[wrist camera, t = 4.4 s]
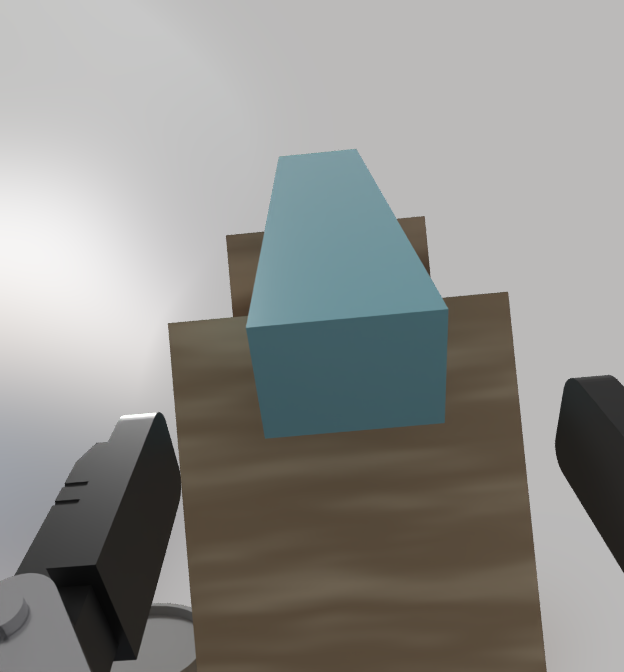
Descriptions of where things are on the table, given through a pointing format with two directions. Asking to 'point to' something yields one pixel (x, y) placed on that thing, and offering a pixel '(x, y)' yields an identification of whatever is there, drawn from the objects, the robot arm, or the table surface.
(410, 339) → the long light blue beam
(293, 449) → the brown tall stepped block
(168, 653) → the reusable coffee cup
